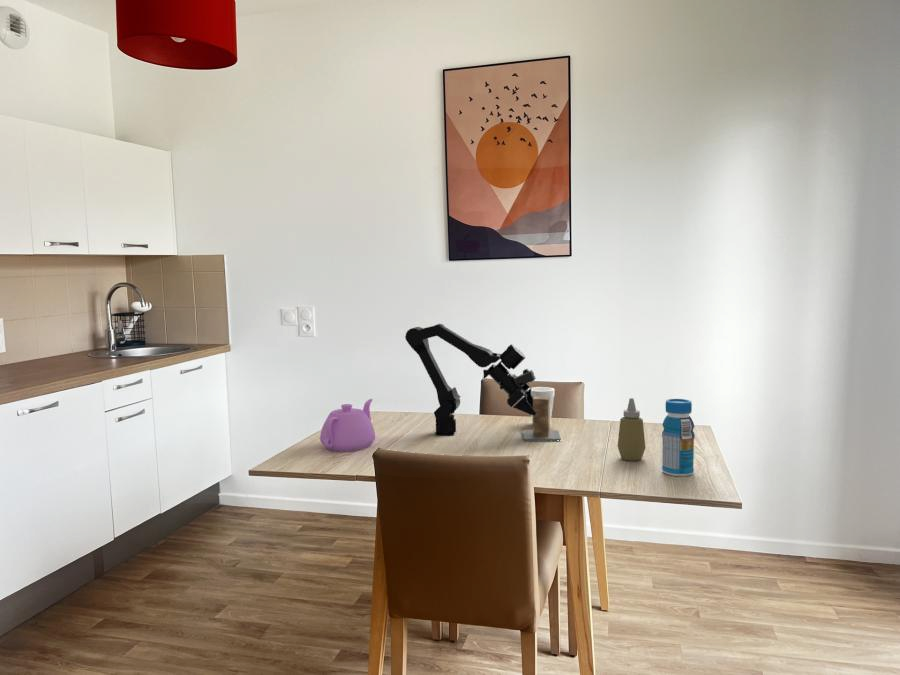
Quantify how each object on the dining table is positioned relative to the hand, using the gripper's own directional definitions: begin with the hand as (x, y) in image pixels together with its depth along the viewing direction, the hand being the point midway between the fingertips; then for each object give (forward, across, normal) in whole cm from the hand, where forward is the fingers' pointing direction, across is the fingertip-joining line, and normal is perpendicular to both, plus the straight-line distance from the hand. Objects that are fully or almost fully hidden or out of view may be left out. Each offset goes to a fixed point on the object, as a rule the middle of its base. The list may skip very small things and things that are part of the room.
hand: (536, 412), depth 232 cm
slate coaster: (+7, 0, +5) cm, 9 cm away
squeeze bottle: (+27, -23, -16) cm, 39 cm away
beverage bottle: (+36, -35, -24) cm, 56 cm away
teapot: (-35, -21, +48) cm, 63 cm away
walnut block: (+6, 0, +4) cm, 8 cm away
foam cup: (+6, +19, +6) cm, 21 cm away
